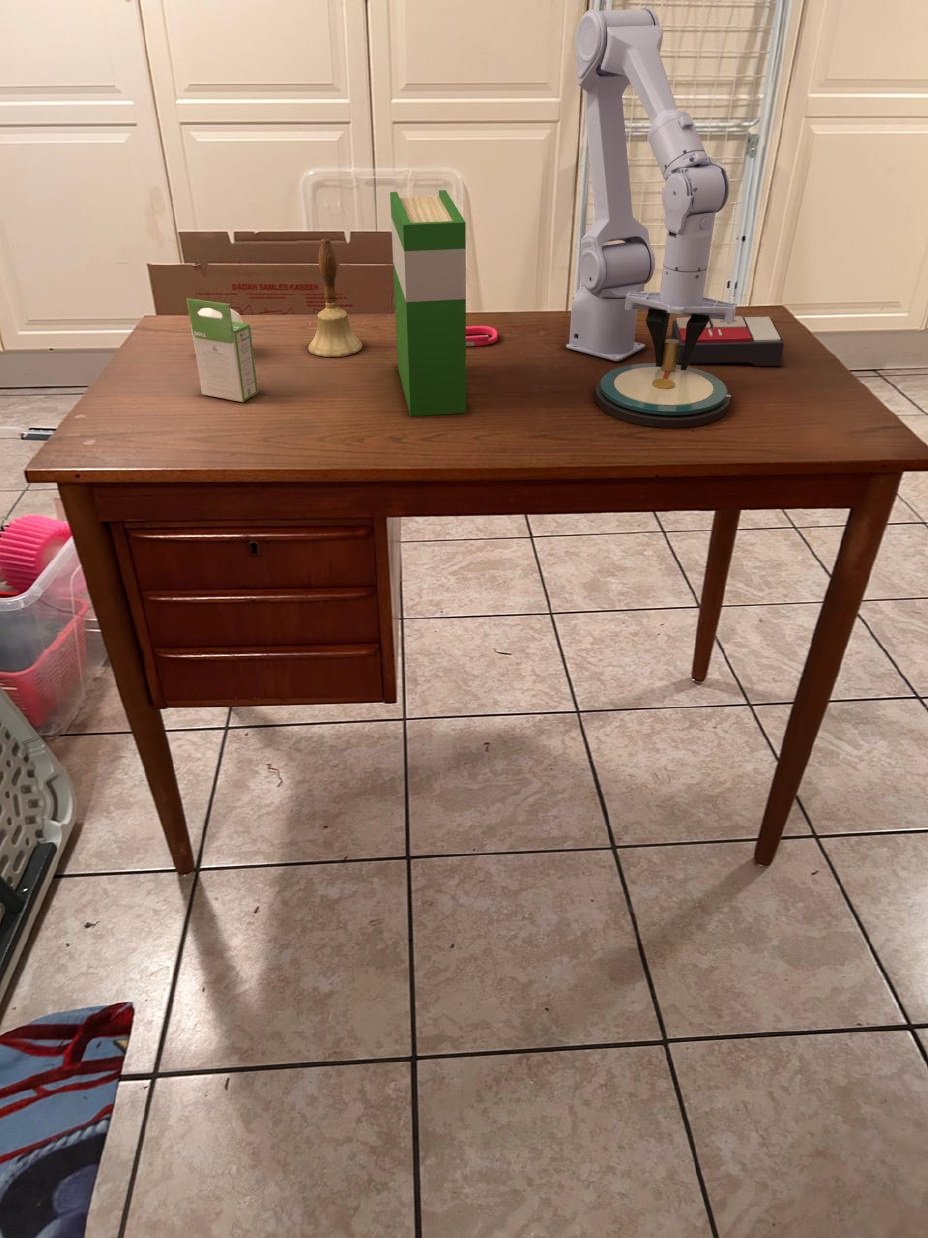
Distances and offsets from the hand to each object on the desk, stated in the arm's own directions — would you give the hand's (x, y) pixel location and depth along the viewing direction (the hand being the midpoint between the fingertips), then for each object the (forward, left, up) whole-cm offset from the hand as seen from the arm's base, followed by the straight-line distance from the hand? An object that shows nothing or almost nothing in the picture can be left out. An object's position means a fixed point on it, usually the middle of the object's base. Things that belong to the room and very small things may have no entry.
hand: (671, 366), depth 133 cm
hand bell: (-47, -20, -3) cm, 51 cm away
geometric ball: (-58, -33, -3) cm, 67 cm away
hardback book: (-25, -23, -3) cm, 34 cm away
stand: (+2, -6, -3) cm, 6 cm away
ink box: (-45, -42, -3) cm, 61 cm away
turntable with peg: (+2, -6, -1) cm, 6 cm away
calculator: (0, +16, -3) cm, 17 cm away
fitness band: (-33, -4, -3) cm, 33 cm away
